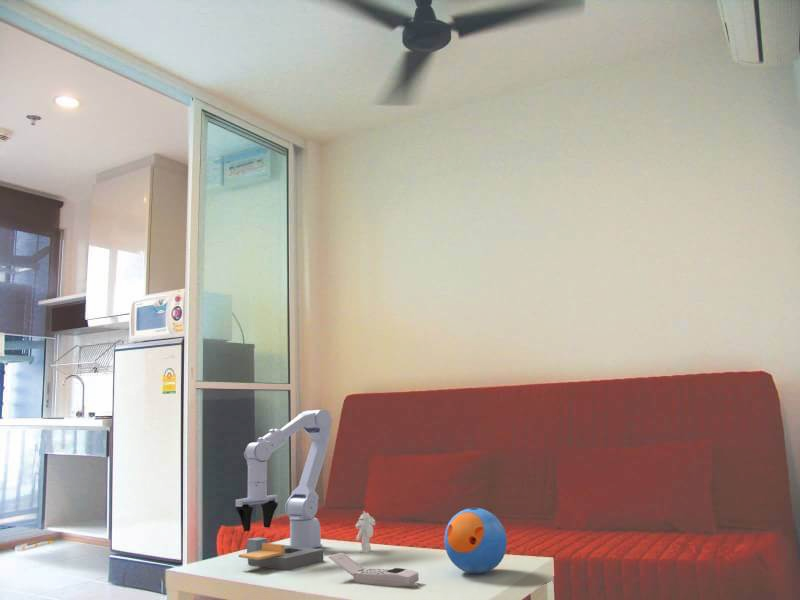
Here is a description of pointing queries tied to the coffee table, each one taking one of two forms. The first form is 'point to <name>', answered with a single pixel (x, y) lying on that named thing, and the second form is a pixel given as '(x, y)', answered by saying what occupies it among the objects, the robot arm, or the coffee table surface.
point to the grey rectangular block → (255, 544)
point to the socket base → (291, 558)
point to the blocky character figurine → (365, 531)
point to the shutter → (265, 551)
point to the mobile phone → (376, 573)
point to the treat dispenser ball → (475, 541)
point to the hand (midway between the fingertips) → (257, 529)
